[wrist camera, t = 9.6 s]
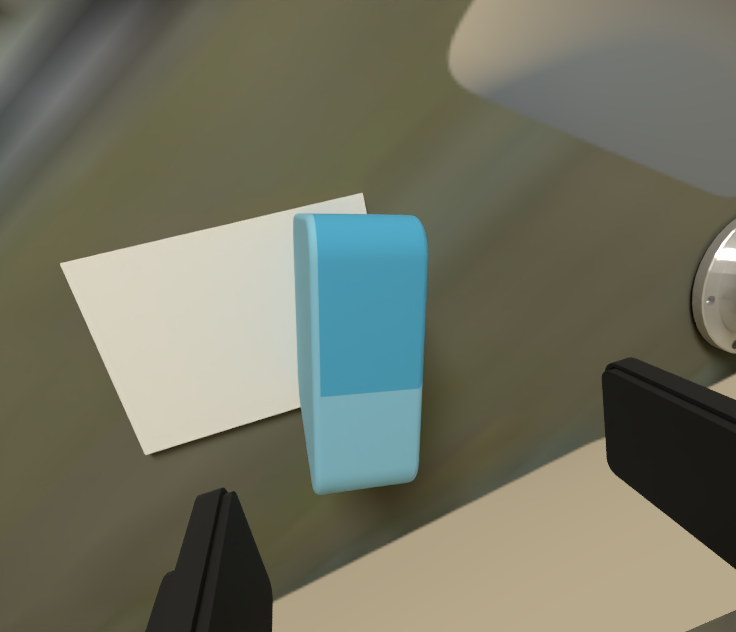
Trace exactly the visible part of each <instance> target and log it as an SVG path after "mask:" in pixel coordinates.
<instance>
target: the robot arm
mask: <svg viewBox="0 0 736 632" xmlns="http://www.w3.org/2000/svg"><path fill="white" fill-rule="evenodd" d="M692 308H693V316H694V320H695V323H696V326H697V328H698V330H699V332H700V333H701V335H702V337H703V338H704V339H705V340H706V341H707V342H708V343H709V344H711V345H712V346H714V347H716V348H718V349H721V350H724V351H727V352H730V353H735V354H736V219H735V220H733V221H732V222H731V223H730V224H728V225H727V226H726V227H725V228H724V229H723V230H722V231H721V232H720V233H719V234H718V236H717V237H716V238H715V239H714V241H713V242H712V244H711V245H710V246H709V248H708V249H707V251H706V253H705V255H704V257H703V259H702V261H701V263H700V266H699V268H698V271H697V274H696V277H695V281H694V286H693V293H692ZM602 389H603V405H604V421H605V437H606V451H607V462H608V465H609V467H610V469H611V470H612V471H613V472H614V474H615V475H617V476H618V477H619V478H620V479H622V480H623V481H624V482H625V483H627V484H628V485H629V486H630V487H632V488H633V489H634V490H636V491H637V492H638V493H639V494H641V495H642V496H643V497H644V498H646V499H647V500H648V501H650V502H651V503H652V504H653V505H655V506H656V507H657V508H658V509H660V510H661V511H662V512H664V513H665V514H666V515H667V516H669V517H670V518H671V519H673V520H674V521H675V522H677V523H678V524H679V525H680V526H682V527H683V528H684V529H685V530H686V531H688V532H689V533H690V534H692V535H693V536H694V537H696V538H697V539H698V540H699V541H700V542H702V543H703V544H704V545H706V546H707V547H708V548H709V549H711V550H712V551H713V552H715V553H716V554H717V555H718V556H720V557H721V558H722V559H723V560H725V561H726V562H727V563H729V564H730V565H731V566H732V567H734V568H735V569H736V400H734V399H732V398H729V397H727V396H725V395H722V394H720V393H717V392H715V391H713V390H710V389H708V388H706V387H703V386H701V385H698V384H696V383H693V382H691V381H689V380H686V379H684V378H681V377H679V376H677V375H674V374H672V373H669V372H667V371H664V370H662V369H660V368H657V367H655V366H652V365H650V364H648V363H645V362H643V361H640V360H638V359H635V358H626V359H623V360H620V361H617V362H614V363H610V364H609V365H607V367H606V369H605V372H604V373H603V374H602ZM272 604H273V598H272V589H271V584H270V580H269V578H268V575H267V572H266V570H265V567H264V564H263V562H262V559H261V556H260V554H259V551H258V549H257V546H256V543H255V541H254V538H253V535H252V533H251V530H250V528H249V525H248V522H247V520H246V517H245V514H244V512H243V509H242V507H241V504H240V501H239V499H238V496H237V494H236V492H234V491H232V492H229V493H228V492H227V490H226V489H225V488H220V489H217V490H214V491H211V492H207V493H204V494H201V495H199V496H197V498H196V500H195V503H194V506H193V510H192V513H191V517H190V520H189V523H188V527H187V530H186V534H185V537H184V540H183V544H182V547H181V551H180V554H179V557H178V561H177V564H176V568H175V570H174V571H171V572H168V573H167V574H166V575H165V576H164V578H163V580H162V582H161V585H160V588H159V591H158V594H157V597H156V600H155V603H154V606H153V610H152V613H151V616H150V619H149V622H148V625H147V628H146V631H145V632H272ZM686 632H736V610H735V611H733V612H730V613H728V614H726V615H724V616H721V617H719V618H717V619H714V620H712V621H709V622H707V623H705V624H703V625H700V626H698V627H696V628H693V629H691V630H689V631H686Z"/></svg>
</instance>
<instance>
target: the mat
mask: <svg viewBox="0 0 736 632" xmlns="http://www.w3.org/2000/svg"><path fill="white" fill-rule="evenodd" d="M298 213H308V214H367V212H366V207H365V202H364V198H363V193H359V194H355V195H351V196H347V197H342V198H338V199H334V200H329V201H325V202H321V203H317V204H312V205H308V206H304V207H299V208H295V209H291V210H287V211H282V212H278V213H274V214H270V215H265V216H261V217H257V218H252V219H248V220H244V221H240V222H235V223H231V224H227V225H222V226H218V227H214V228H210V229H205V230H201V231H197V232H192V233H188V234H184V235H180V236H175V237H171V238H167V239H162V240H158V241H154V242H150V243H145V244H141V245H137V246H132V247H128V248H124V249H120V250H115V251H111V252H107V253H102V254H98V255H94V256H90V257H85V258H81V259H77V260H72V261H68V262H64V263H60V265H61V267H62V270H63V272H64V274H65V276H66V279H67V281H68V283H69V285H70V288H71V290H72V292H73V294H74V297H75V299H76V301H77V303H78V306H79V308H80V310H81V312H82V314H83V317H84V319H85V321H86V323H87V326H88V328H89V330H90V332H91V335H92V337H93V339H94V341H95V344H96V346H97V348H98V350H99V353H100V355H101V357H102V359H103V362H104V364H105V366H106V368H107V371H108V373H109V375H110V377H111V379H112V382H113V384H114V386H115V388H116V391H117V393H118V395H119V397H120V400H121V402H122V404H123V406H124V409H125V411H126V413H127V415H128V418H129V420H130V422H131V424H132V427H133V429H134V431H135V433H136V435H137V438H138V440H139V442H140V444H141V447H142V449H143V451H144V453H145V455H147V454H151V453H154V452H157V451H160V450H163V449H167V448H170V447H173V446H176V445H180V444H183V443H186V442H189V441H193V440H196V439H199V438H202V437H205V436H209V435H212V434H215V433H218V432H222V431H225V430H228V429H231V428H234V427H238V426H241V425H244V424H247V423H251V422H254V421H257V420H260V419H264V418H267V417H270V416H273V415H276V414H280V413H283V412H286V411H289V410H293V409H296V408H299V407H301V405H300V397H299V386H298V363H297V334H296V305H295V275H294V246H293V218H294V216H295V215H296V214H298Z"/></svg>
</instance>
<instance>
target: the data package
mask: <svg viewBox="0 0 736 632" xmlns="http://www.w3.org/2000/svg"><path fill="white" fill-rule="evenodd" d="M293 246H294V275H295V305H296V334H297V363H298V386H299V397H300V405H301V411H302V418H303V425H304V432H305V439H306V445H307V452H308V459H309V466H310V472H311V479H312V486H313V490H314V492H315V493H316V494H319V495H322V494H329V493H336V492H343V491H351V490H358V489H365V488H372V487H379V486H387V485H394V484H401V483H408V482H411V481H413V480H414V479H415V477H416V475H417V472H418V467H419V451H420V429H421V407H422V385H423V363H424V341H425V319H426V297H427V275H428V245H427V238H426V234H425V230H424V227H423V225H422V223H421V222H420V220H419V219H418V218H416V217H415V216H412V215H382V214H308V213H298V214H296V215H295V216H294V218H293Z"/></svg>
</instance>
